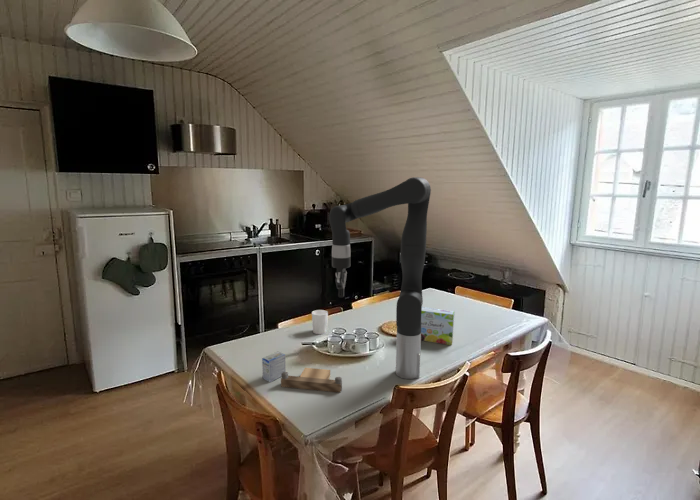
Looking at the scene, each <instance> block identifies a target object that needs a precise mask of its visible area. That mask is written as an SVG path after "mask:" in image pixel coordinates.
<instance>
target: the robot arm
mask: <svg viewBox="0 0 700 500" xmlns="http://www.w3.org/2000/svg"><path fill="white" fill-rule="evenodd" d="M431 191H432V189H431V185H430V183H429V181H428V180H427V179H426V178H424V177H419V176H417V177H409V178H408V179H406V180H405V181H403V182H401V183H399V184H397V185H395V186H394V187H391V188H389V189H387V190H384V191H380V192H378V193H373V194H371V195H367V196H364V197H362V198H358V199H355V200H353V202H350V203H346V204H343V205H335V206H333V207H332V208H331V209H330V211H329V215H328V221H329V224H330V231H331V234H332V242H331V243H332V244H331V245H332V246H331V267H332V268H334V269H336V271H335V279H334V281H335V282H334V283H335V285H336V289H337V297H338V298H339V299H340V298H341V299H343V298H344V297H345V287H346V284H347V282H346V281H347V276H348V275H347V274H348V272H347V270H346V269H348V268H350V267H351V232H350V230H349V229H347V226H346V223H349V222H352V221H354V220H357V219H360V218H364V217H365V218H366V217H368V216H371V215H374V214H376V213H379V212H381V211H384V210H386V209H389V208H391V207H395V206H400V205H407V217H406V220H405V224H404V227H403V230H402V235H401V238H400V264H401V271H402V272H401V273H402V280H401V289H400V293H399V296H398V297H397V298H398V299H397V301H396V312H395V314H396V315H395V316H396V320H395V322H396V323H395V324H396V325H395V326H396V344H395V345H396V348H395V350H396V351H395V374H396V376H397V377H399V378H401V379H406V380H413V379H419V378H420V372H421V371H420V370H421V346H422V345H421V344H422V343H421V342H422V340H421V312H422V307H423V301H424V299H423V282H422V281H423V280H422V279H423V272H424V269H425V268H424V267H425V262H426V261H425V260H426V251H427V233H428V231H427V228H428V226H427V225H428V224H427V223H428V221H427V220H428V210H429V205H430V204H429V203H430V198H431V194H432V193H431Z"/></svg>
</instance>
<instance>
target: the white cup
mask: <svg viewBox="0 0 700 500" xmlns="http://www.w3.org/2000/svg"><path fill="white" fill-rule="evenodd" d="M328 319H329V311H327V310H324V309H316V310H313V311H311V322H312V323H311V324H312V332H313V334H315V335H324V334H326V333H327V331H328Z"/></svg>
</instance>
